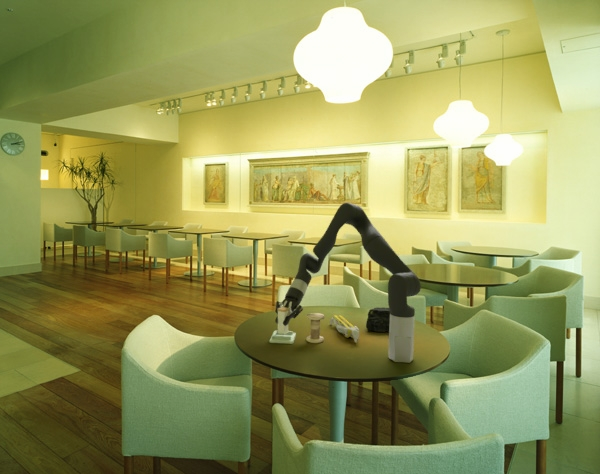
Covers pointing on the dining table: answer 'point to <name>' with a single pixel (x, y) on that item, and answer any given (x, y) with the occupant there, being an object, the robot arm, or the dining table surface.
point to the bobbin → (315, 328)
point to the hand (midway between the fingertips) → (280, 323)
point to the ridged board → (283, 337)
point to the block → (281, 317)
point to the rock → (378, 319)
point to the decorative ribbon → (345, 328)
